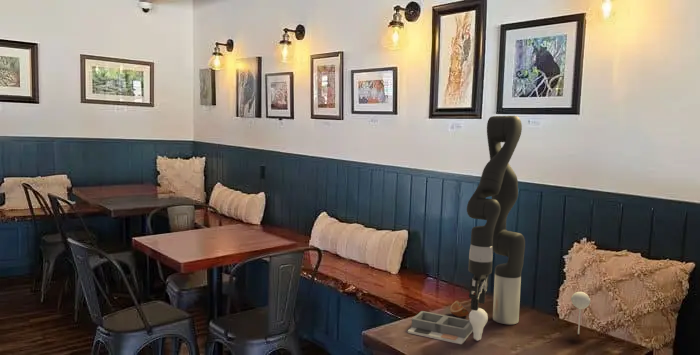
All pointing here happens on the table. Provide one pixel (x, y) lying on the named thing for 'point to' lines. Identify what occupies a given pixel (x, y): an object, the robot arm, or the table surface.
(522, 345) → the table surface
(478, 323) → the lightbulb
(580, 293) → the lollipop
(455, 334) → the socket board
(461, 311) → the fruit slice
